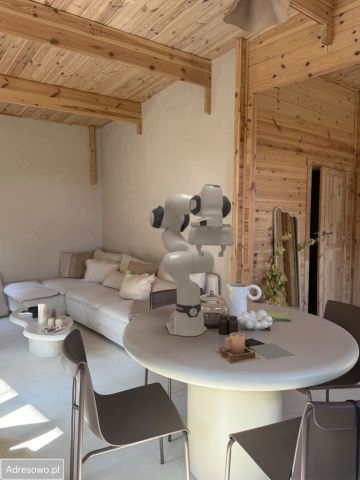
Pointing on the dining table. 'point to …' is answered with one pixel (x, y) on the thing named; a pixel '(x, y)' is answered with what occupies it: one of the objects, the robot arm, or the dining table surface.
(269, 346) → the charcoal board
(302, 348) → the dining table surface
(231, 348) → the orange mug
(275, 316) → the washcloth
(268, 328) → the phone
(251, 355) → the walnut stand
